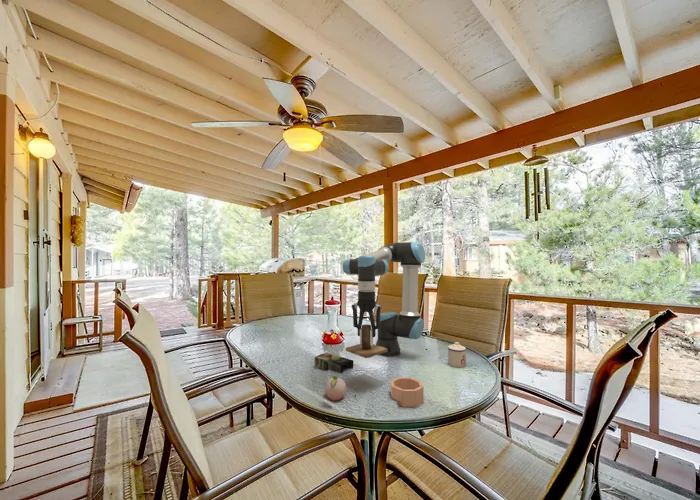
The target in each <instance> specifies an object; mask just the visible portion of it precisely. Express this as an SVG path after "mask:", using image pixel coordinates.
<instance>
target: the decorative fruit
mask: <svg viewBox="0 0 700 500" xmlns="http://www.w3.org/2000/svg"><path fill="white" fill-rule="evenodd" d="M344 381H345V380H343V379H342V378H340V377H339V376H338V375H333V376H332V377H330V378H329V379H327V381H326V382H325V395H326V396H327V398H328V399H329V400H330V401H340V400H341V399H342V398H343V397H344V396H345V395H346V392H347V384H345V382H344Z"/></svg>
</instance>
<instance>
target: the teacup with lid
mask: <svg viewBox="0 0 700 500" xmlns="http://www.w3.org/2000/svg"><path fill="white" fill-rule="evenodd" d="M447 350H448V351H447V355H448V359H447V363H448V365H449V366H450V367H454V368H465V367H466V364H467V363H466V362H467V360H466V359H467V357H466V356H467V355H466V351H467V348H466V347H465V346H463V345H461V344H460V342H458V341H454V343H453V344H449V345H448V346H447Z"/></svg>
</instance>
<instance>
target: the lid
mask: <svg viewBox="0 0 700 500" xmlns="http://www.w3.org/2000/svg"><path fill="white" fill-rule="evenodd" d="M361 328H362V344H360V343H359V344H356V345H352V346H348V347H345V351H346V352H349V353H351V354H354V355H356V356H358V357H362V358H365V359H369V358H372V357H375V356H379V355H378V354H381V353H384V352H387V351H388V349H387V348H384V347H381V346H377V345H376V344H374V343H373V345H370V330H371V329H372V327H371V324H366V323H365V324H362V327H361Z"/></svg>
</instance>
